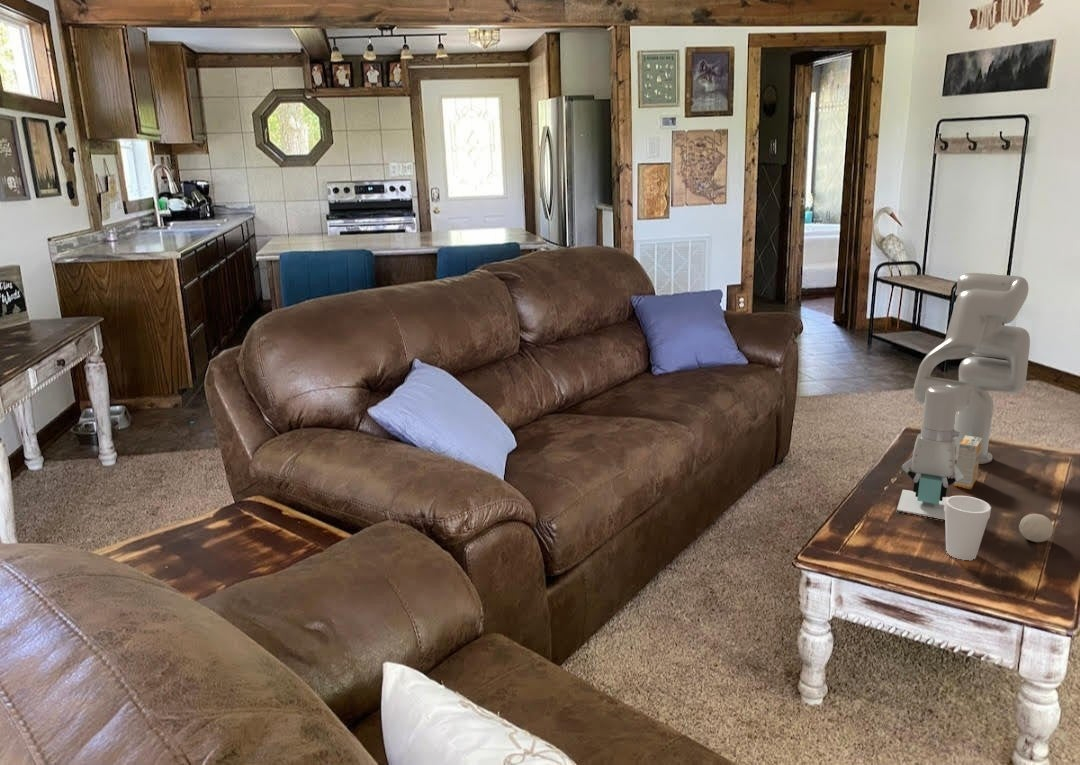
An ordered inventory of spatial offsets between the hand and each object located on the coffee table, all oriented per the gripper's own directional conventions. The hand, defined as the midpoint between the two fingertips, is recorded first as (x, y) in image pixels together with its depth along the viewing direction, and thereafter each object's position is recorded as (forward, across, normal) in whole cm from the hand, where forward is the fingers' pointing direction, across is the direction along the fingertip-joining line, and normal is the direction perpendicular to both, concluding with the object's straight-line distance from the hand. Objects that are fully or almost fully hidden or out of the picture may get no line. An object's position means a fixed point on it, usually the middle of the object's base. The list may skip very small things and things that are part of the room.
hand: (929, 496), depth 210 cm
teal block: (+1, 0, 0) cm, 1 cm away
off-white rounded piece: (+3, -24, +9) cm, 26 cm away
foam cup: (+3, -9, +24) cm, 26 cm away
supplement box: (+3, -8, -21) cm, 23 cm away
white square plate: (+3, 0, 0) cm, 3 cm away
